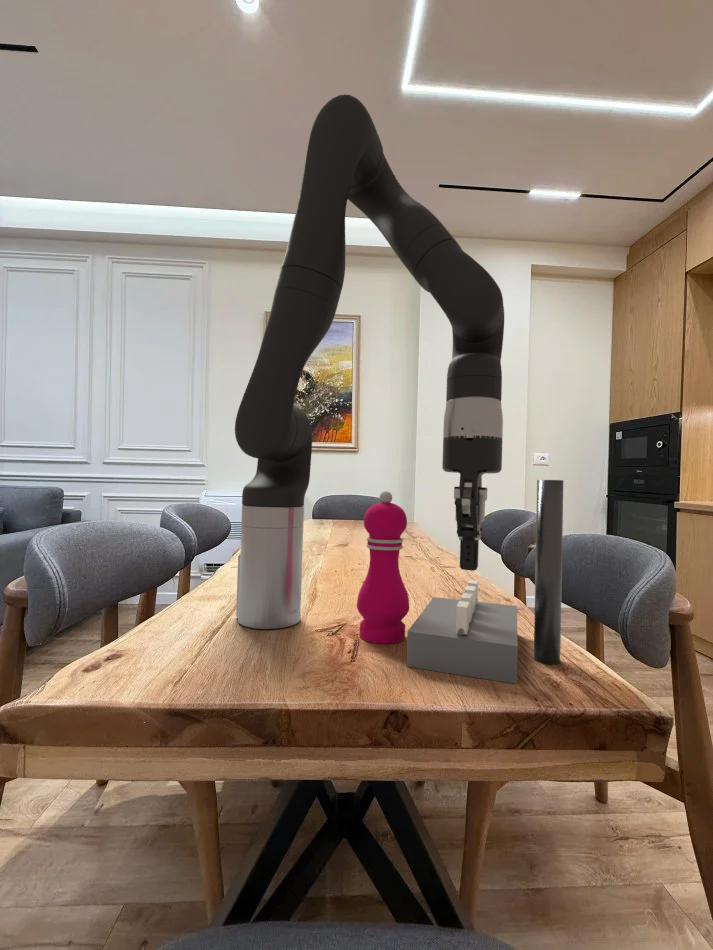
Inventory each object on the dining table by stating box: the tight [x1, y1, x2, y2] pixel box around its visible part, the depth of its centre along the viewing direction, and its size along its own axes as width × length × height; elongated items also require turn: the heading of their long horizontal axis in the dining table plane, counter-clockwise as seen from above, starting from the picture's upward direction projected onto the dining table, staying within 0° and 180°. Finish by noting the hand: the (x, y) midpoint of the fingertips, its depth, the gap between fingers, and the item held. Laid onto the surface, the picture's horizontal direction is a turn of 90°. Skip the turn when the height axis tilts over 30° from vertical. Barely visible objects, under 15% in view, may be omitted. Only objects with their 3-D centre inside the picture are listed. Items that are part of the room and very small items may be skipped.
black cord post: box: [533, 479, 564, 665], centre depth 56 cm, size 3×3×22 cm
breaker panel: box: [406, 596, 519, 685], centre depth 59 cm, size 12×18×4 cm, turn 161°
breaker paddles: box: [456, 579, 479, 635], centre depth 59 cm, size 1×16×3 cm, turn 160°
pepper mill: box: [356, 490, 410, 645], centre depth 63 cm, size 7×7×20 cm
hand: (468, 569), depth 60 cm, fingers closed
